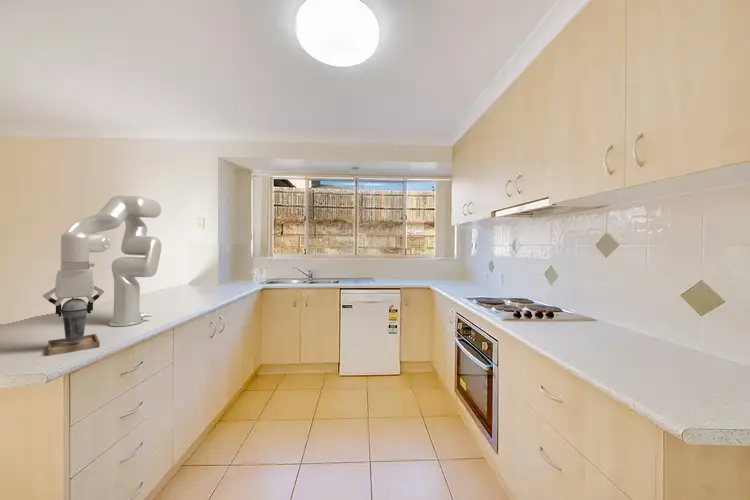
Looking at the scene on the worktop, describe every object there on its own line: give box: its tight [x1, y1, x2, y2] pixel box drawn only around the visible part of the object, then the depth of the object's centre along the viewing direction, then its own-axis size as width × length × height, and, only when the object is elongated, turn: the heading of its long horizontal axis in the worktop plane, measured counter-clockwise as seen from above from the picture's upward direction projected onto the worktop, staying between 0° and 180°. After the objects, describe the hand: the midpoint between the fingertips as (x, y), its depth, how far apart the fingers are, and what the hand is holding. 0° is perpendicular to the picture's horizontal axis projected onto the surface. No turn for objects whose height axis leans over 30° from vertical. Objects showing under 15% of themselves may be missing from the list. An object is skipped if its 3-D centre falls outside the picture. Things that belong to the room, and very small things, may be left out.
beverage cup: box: [61, 297, 88, 342], centre depth 114 cm, size 7×7×20 cm
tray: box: [47, 333, 100, 356], centre depth 114 cm, size 13×13×2 cm
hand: (74, 313), depth 114 cm, fingers closed on beverage cup, 7 cm apart
